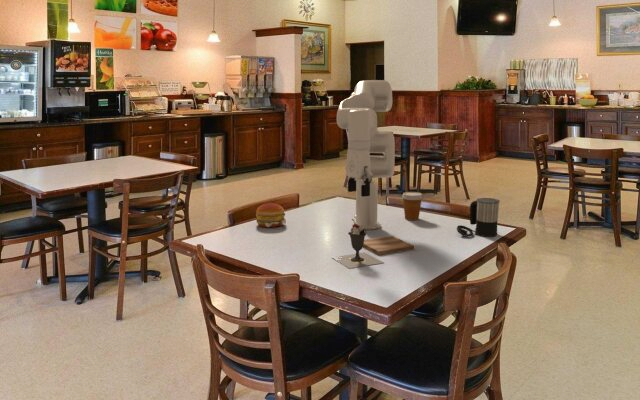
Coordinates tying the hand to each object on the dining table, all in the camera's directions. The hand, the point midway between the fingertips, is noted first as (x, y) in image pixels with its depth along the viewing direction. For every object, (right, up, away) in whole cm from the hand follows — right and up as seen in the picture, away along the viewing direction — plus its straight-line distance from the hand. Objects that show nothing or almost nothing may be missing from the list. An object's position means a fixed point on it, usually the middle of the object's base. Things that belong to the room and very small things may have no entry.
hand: (358, 193), depth 204 cm
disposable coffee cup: (+29, -11, +66) cm, 73 cm away
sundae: (0, -24, +5) cm, 25 cm away
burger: (-36, -14, +57) cm, 69 cm away
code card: (0, -24, +5) cm, 25 cm away
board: (+12, -21, +21) cm, 32 cm away
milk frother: (+52, -17, +37) cm, 66 cm away
